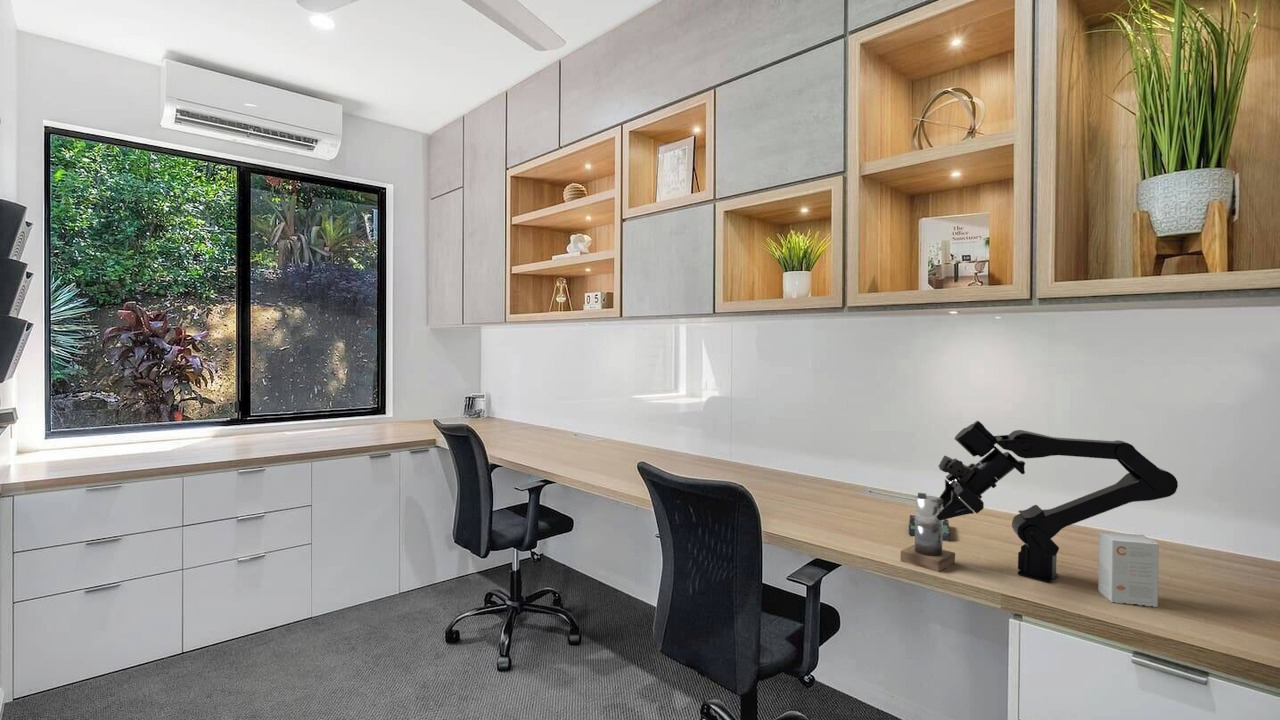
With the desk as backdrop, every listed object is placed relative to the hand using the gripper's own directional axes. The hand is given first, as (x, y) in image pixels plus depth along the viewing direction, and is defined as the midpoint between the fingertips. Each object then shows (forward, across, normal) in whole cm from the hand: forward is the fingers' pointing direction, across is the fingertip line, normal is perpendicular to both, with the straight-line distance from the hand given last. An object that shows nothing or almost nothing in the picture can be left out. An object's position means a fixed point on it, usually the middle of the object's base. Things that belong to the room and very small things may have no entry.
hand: (935, 513), depth 143 cm
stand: (+10, 0, +7) cm, 12 cm away
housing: (+8, 0, +6) cm, 10 cm away
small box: (-16, +8, +34) cm, 38 cm away
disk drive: (+8, -27, +10) cm, 30 cm away
